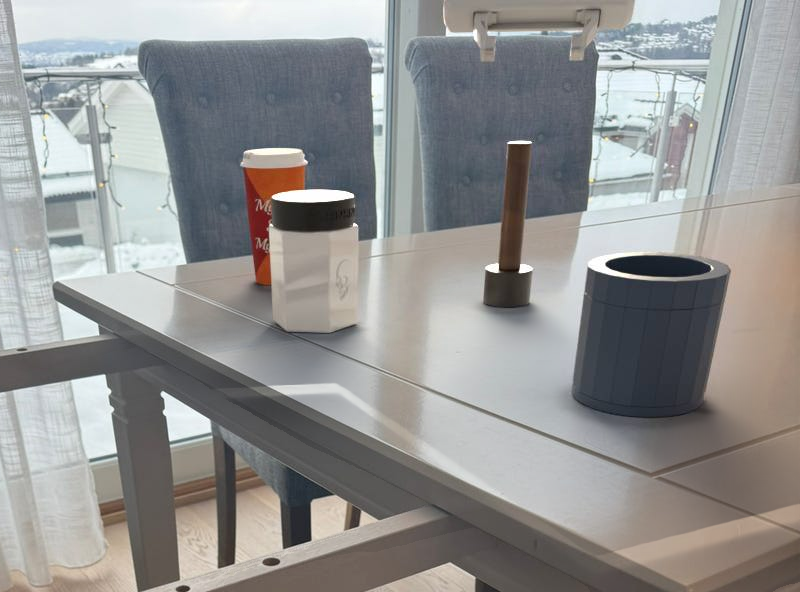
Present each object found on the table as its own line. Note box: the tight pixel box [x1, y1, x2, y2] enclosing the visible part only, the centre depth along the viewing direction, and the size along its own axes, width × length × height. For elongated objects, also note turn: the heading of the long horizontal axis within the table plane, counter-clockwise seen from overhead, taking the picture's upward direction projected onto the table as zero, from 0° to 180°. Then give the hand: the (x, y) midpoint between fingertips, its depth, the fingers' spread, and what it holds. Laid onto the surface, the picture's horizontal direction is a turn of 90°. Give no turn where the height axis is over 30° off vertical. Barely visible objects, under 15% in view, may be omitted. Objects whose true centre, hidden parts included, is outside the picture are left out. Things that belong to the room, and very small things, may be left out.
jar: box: [269, 189, 359, 334], centre depth 93 cm, size 9×8×12 cm
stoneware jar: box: [571, 251, 732, 418], centre depth 73 cm, size 10×10×10 cm
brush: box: [482, 140, 533, 308], centre depth 98 cm, size 5×5×16 cm
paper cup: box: [239, 147, 309, 286], centre depth 109 cm, size 8×8×14 cm
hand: (531, 56), depth 99 cm, fingers open, 8 cm apart
